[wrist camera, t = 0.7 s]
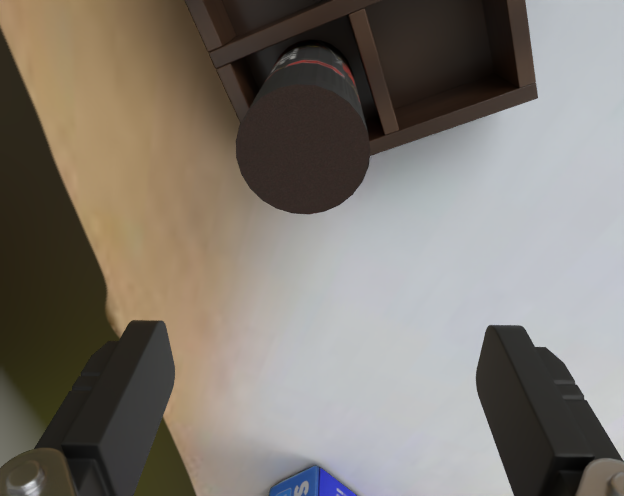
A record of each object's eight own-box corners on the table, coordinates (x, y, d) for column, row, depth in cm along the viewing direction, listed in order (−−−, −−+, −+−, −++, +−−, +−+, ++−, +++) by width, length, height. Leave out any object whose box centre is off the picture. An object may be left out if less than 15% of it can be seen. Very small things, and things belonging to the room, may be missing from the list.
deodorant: (316, 141, 35) (310, 237, 23) (254, 88, 34) (209, 159, 21) (371, 80, 33) (399, 147, 20) (307, 19, 31) (293, 51, 18)
